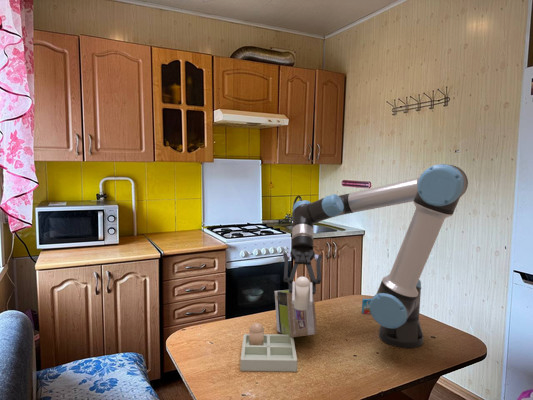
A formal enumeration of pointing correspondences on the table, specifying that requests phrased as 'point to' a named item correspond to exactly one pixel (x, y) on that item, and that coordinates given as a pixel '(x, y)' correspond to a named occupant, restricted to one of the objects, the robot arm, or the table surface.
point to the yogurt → (366, 306)
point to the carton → (267, 351)
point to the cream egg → (302, 293)
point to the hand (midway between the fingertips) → (302, 302)
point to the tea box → (294, 316)
